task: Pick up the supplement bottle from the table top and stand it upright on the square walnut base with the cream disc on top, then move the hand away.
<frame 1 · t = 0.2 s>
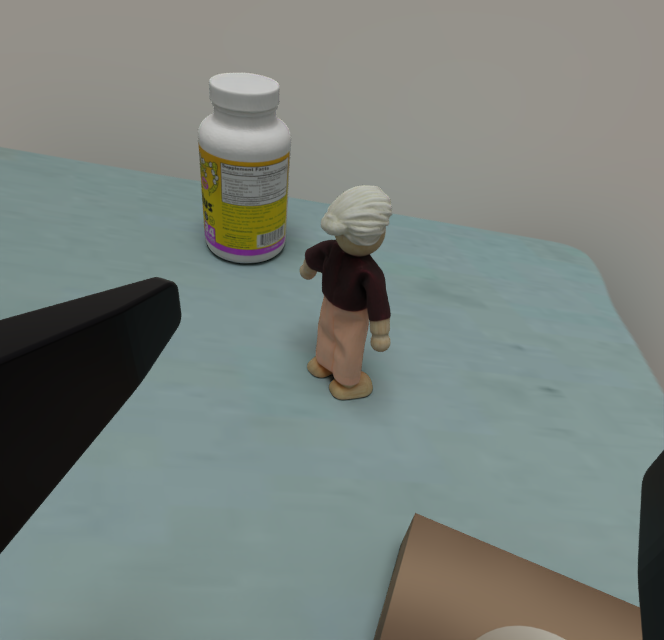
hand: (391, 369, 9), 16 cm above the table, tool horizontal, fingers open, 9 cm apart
grandmother figurine: (333, 372, 31), on the table
supplement bottle 2: (245, 246, 41), on the table
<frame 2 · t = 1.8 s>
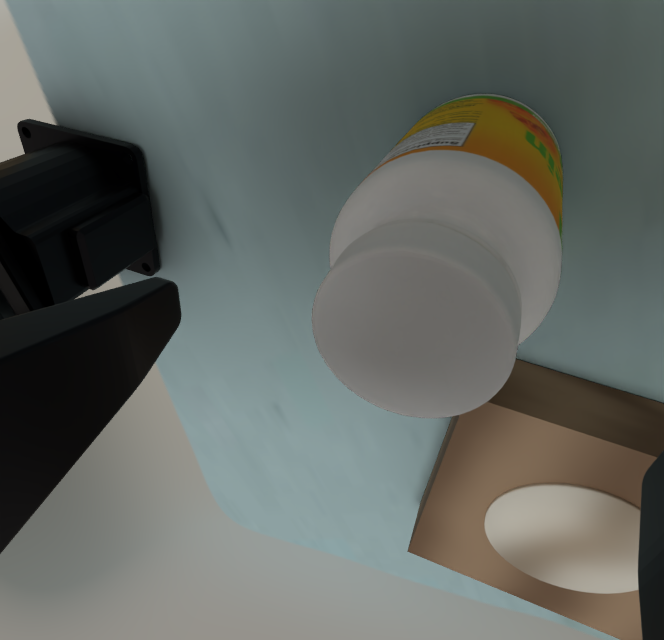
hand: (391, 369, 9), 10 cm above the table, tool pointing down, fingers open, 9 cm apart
supplement bottle: (476, 174, 17), on the table
walnut base: (570, 481, 23), on the table
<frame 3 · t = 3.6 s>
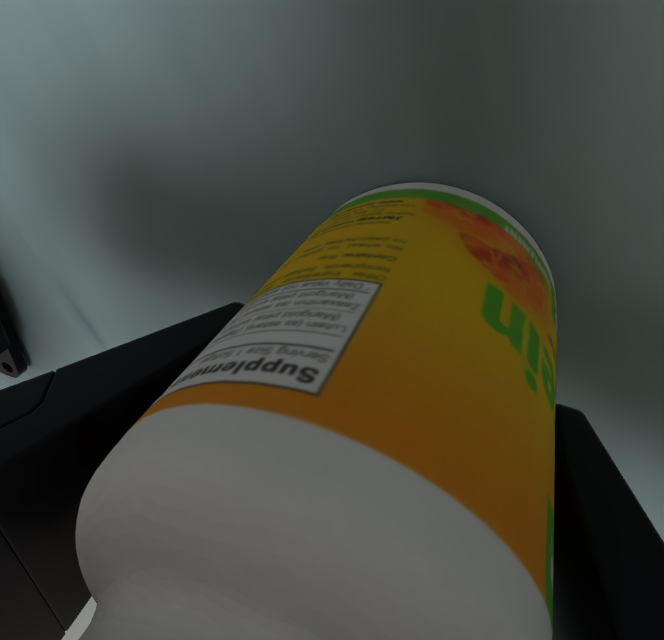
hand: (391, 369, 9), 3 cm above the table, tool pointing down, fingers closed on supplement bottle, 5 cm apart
supplement bottle: (424, 291, 11), on the table, touching gripper
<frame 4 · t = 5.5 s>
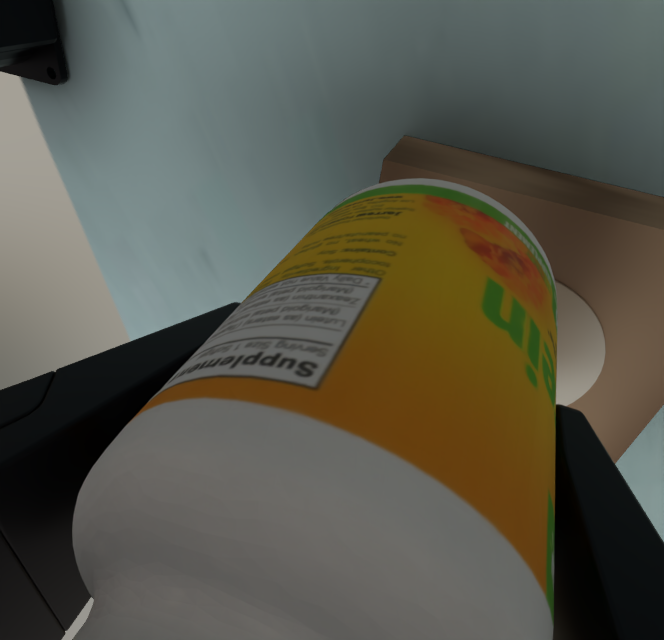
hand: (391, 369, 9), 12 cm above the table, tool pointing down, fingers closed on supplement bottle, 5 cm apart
supplement bottle: (424, 288, 11), point 10 cm above the table, touching gripper
walnut base: (507, 306, 21), on the table
when the fingers open (7 cm above the table, at t = 7.6 s): supplement bottle drops 1 cm, resting on walnut base.
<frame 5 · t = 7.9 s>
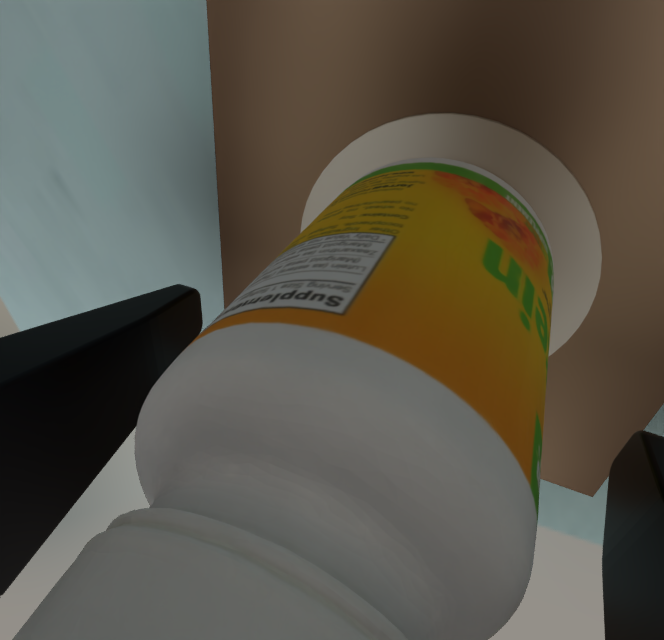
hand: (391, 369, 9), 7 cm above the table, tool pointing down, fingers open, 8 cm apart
supplement bottle: (432, 262, 12), point 3 cm above the table, touching walnut base
walnut base: (456, 217, 14), on the table
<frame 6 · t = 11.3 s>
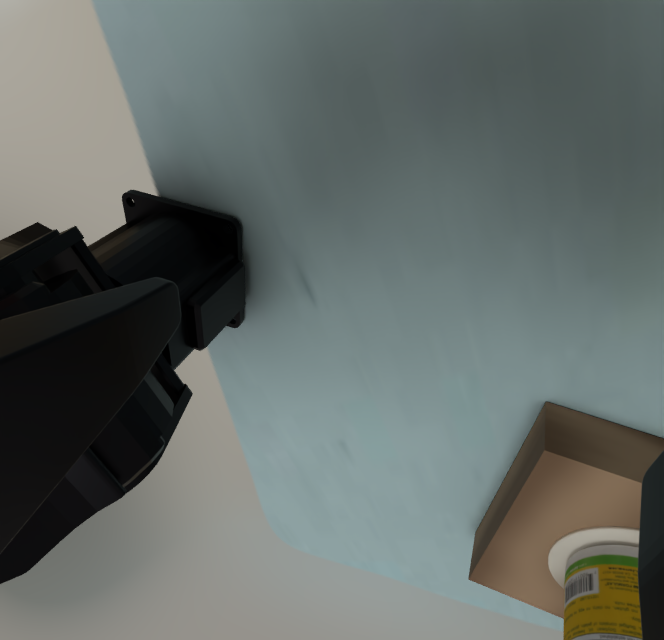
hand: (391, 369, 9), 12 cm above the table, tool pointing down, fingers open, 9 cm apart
supplement bottle: (629, 573, 23), point 3 cm above the table, touching walnut base
walnut base: (623, 518, 25), on the table
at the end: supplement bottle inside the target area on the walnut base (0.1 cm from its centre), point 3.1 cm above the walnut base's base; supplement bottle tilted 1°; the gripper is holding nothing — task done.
